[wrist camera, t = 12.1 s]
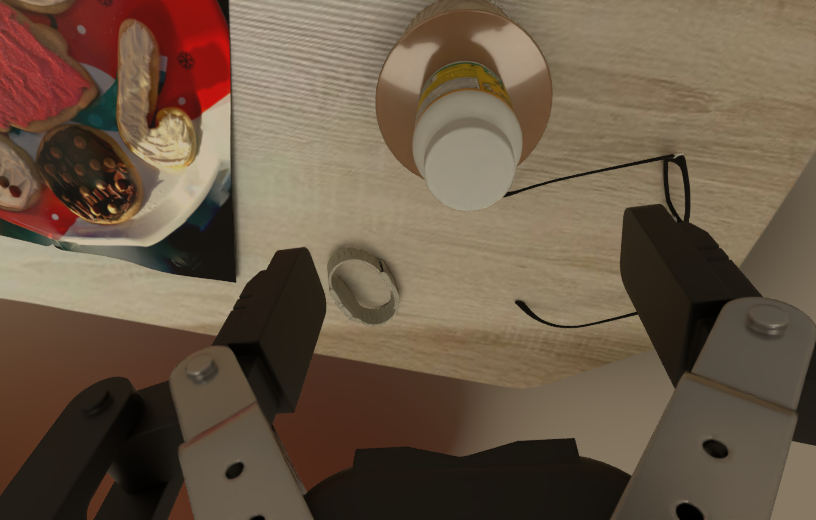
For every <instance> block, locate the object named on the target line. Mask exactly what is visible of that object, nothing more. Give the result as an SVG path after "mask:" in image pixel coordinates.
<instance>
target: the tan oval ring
mask: <svg viewBox="0 0 816 520" xmlns="http://www.w3.org/2000/svg"><path fill="white" fill-rule="evenodd" d="M350 261H358V262H362V263H365V264H367V265H369V266H372V268H374V269H376V271H377V272H378V273H379V275H380V276H381V277H382V279H383V280H384V281H385V283H386V284H387V285H389V287H390V289H391V292H392V293H391V301H390V302H389V303H388V304H387V305H385V306H384V307H382V308H379V309H368V308H364V307H362V306H360V305H359V303H358V302H357V301H356V299H355V297H354V296H353V294H352V292H351V290H350V289H349V288H348V287H347V286H346V285H345V284H344V283H343V281H342V280H341V279H340V278H339V277H336V276H334V275H333V272H334V271H335V269H336V268H337V267H338V266H340V265H341V264H343V263H345V262H350ZM327 269H328V281H329V292H330V294H331V296H332V298H333V300H334V302H335V304H336V305H337V306H338V307H339V308H340V309H341V311H342V312H343V313H344V314H345V315H346V316H347V317H348V318H349V319H350V320H352V321H355V322H357V323H361V322H362V324H365V325H367V326H380V325H383V324H385V323H387V321H388V322H389V321H390V320H391V319H392V318H393V317H394V316H395V314H396V313H397V311H398V309H399V295H398V292H397V288H396V285H395V282H394V279H393V277H392V275H391V273H390V272H389V271H388V269H387V267H386V265H385V263H384V262H383V260H381V259H380V260H377V259H376V258H375V257H374V256H372V255H371V254H370V253H368V252H367V251H364V250H362V249H358V248H343V249H341V250H338V251H337V252H335V253H334V254H333V255H332V256H331V257H330V259H329V261H328V266H327Z"/></svg>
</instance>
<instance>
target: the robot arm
mask: <svg viewBox="0 0 816 520" xmlns="http://www.w3.org/2000/svg"><path fill="white" fill-rule="evenodd" d="M620 271H621V277H622V281H623V284H624V287H625V289H626V291H627V293H628V295H629V297H630V299H631V301H632V303H633V305H634V307H635V309H636V311H637V313H638V315H639V317H640V319H641V321H642V323H643V325H644V327H645V329H646V331H647V333H648V335H649V337H650V340H651V342H652V344H653V346H654V348H655V350H656V351H657V354H658V356H659V358H660V360H661V361H662V364H663V366H664V368H665V370H666V372H667V374H668V376H669V378H670V380H671V382H672V384H673V386H674V388H675V391H674V392H673V395H672V396H671V398H670V401H669V403H668V404H667V407H666V409H665V410H664V412H663V414H662V416H661V419H660V421H659V423H658V425H657V427H656V429H655V431H654V432H653V435H652V436H651V438H650V440H649V442H648V444H647V446H646V449H645V450H644V452H643V455H642V457H641V458H640V460H639V462H638V464H637V466H636V468H635V470H634V472H633V474H632V476H631V475H629V474H628V473H626V472H624V471H622V470H620V469H618V468H616V467H613V466H611V465H609V464H606V463H604V462H601V461H598V460H594V459H591V458H586V457H581V456H579V453H578V449H577V445H576V441H575V438H567V439H548V440H529V441H516V442H513V443H509V444H506V445H502V446H499V447H496V448H493V449H489V450H485V451H482V452H479V453H475V454H472V455H468V456H464V457H457V456H451V455H447V454H442V453H437V452H431V451H426V450H421V449H416V448H411V447H389V448H369V449H356V451H355V457H354V462H353V467H350V468H347V469H345V470H342V471H340V472H338V473H336V474H333V475H332V476H330V477H328V478H326V479H324V480H323V481H321V482H320V483H319V484H317V485H316V486H314V487H313V488H312V489H311V490H309V491H308V492H307V491H306V489H305V487H304V485H303V484H302V482H301V480H300V478H299V476H298V474H297V472H296V470H295V468H294V466H293V464H292V462H291V460H290V458H289V456H288V454H287V452H286V450H285V448H284V446H283V444H282V442H281V440H280V438H279V436H278V434H277V432H276V430H275V428H274V426H273V425H272V424H273V421H274V418H275V415H276V414H279V413H293V412H295V408H296V405H297V402H298V399H299V396H300V393H301V390H302V387H303V383H304V380H305V377H306V374H307V371H308V368H309V364H310V361H311V358H312V355H313V352H314V349H315V346H316V343H317V340H318V336H319V333H320V330H321V327H322V324H323V321H324V318H325V314H326V298H325V293H324V290H323V287H322V285H321V282H320V279H319V276H318V273H317V271H316V268H315V265H314V262H313V260H312V257H311V254H310V252H309V250H308V249H307V248H305V247H301V248H293V249H285V250H278V251H277V252H276V253H275V254H274V256H273V258H272V260H271V262H270V264H269V266H268V268H267V269H266V270H262V271H260V272H259V273H258V274H257V275H256V276H255V277H253V278H252V279H251V280H250V281H249V282H248V283H247V284H246V286H245V288H244V289H243V291H242V293H241V295H240V299H238V300H237V302H236V304H235V305H234V307H233V310H232V311H231V312H230V314H229V316H228V318H227V319H226V321H225V323H224V325H223V326H222V328H221V330H220V332H219V333H218V335H217V337H216V339H215V340H214V342H213V344H212V346H210V347H207V348H203V349H200V350H198V351H196V352H194V353H193V354H191V355H189V356H188V357H186V358H185V359H184V360H183V361H181V362H180V363H179V364H178V365H177V366H176V368H175V369H174V370H173V372H172V374H171V376H170V378H169V380H168V381H166V382H162V383H159V384H156V385H153V386H150V387H147V388H144V389H141V390H138V391H137V390H136V389H135V388H134V386H133V385H132V384H131V382H130V381H129V380H128V379H127V378H124V377H112V378H107V379H104V380H102V381H99V382H97V383H95V384H93V385H91V386H89V387H88V388H86V389H85V390H83V391H82V392H81V393H79V394H78V395H77V396H76V397H75V398H74V399H73V400H72V401H71V402H70V403H69V404H68V405H67V407H66V408H65V409H64V411H63V412H62V413H61V415H60V416H59V417H58V419H57V420H56V421H55V423H54V424H53V425H52V427H51V428H50V429H49V431H48V432H47V433H46V435H45V436H44V438H43V439H42V440H41V442H40V443H39V444H38V446H37V447H36V448H35V450H34V451H33V453H32V454H31V455H30V456H29V458H28V459H27V461H26V462H25V463H24V465H23V466H22V467H21V469H20V470H19V471H18V473H17V474H16V475H15V477H14V478H13V480H12V481H11V482H10V484H9V485H8V486H7V488H6V489H5V490H4V492H3V493H2V494H1V496H0V520H87V509H88V505H89V503H90V501H91V499H92V497H93V495H94V494H95V492H96V490H97V488H98V487H99V485H100V483H101V481H102V480H103V478H104V476H105V474H106V473H109V475H110V476H111V477H112V478H113V479H114V480H115V482H114V484H113V485H112V487H111V489H110V491H109V493H108V495H107V496H106V498H105V500H104V502H103V504H102V505H101V507H100V509H99V511H98V513H97V515H96V516H95V518H94V520H168V517H169V515H170V512H171V510H172V508H173V506H174V503H175V501H176V498H177V496H178V494H179V491H180V489H181V487H182V484H183V482H184V480H185V484H186V488H187V492H188V495H189V500H190V503H191V507H192V511H193V515H194V519H195V520H770V518H771V514H772V511H773V507H774V504H775V500H776V496H777V493H778V489H779V485H780V482H781V478H782V474H783V471H784V467H785V463H786V459H787V456H788V452H789V448H790V445H791V441H795V442H800V443H805V444H810V445H815V446H816V325H815V323H814V322H813V320H812V319H811V318H810V317H809V316H808V315H807V314H805V313H804V312H803V311H801V310H800V309H798V308H796V307H794V306H792V305H789V304H787V303H785V302H782V301H779V300H775V299H770V298H764V297H763V296H762V295H761V294H760V293H759V292H758V291H757V289H755V287H754V286H753V285H752V284H751V282H750V281H749V280H748V279H747V278H746V277H745V276H744V274H743V273H742V272H741V271H740V270H739V268H738V267H737V266H736V265H735V264H734V263H733V261H732V260H729V257H728V256H727V254H726V253H725V252H724V251H723V250H722V249H721V248H720V249H719V245H718V244H717V243H716V242H715V240H714V239H713V238H712V237H711V236H710V235H709V233H708V232H706V231H704V230H702V229H701V228H699V227H697V226H695V225H693V224H691V223H689V222H688V221H687V222H679V223H676V221H675V220H674V219H673V218H672V216H671V215H670V214H669V212H668V211H667V210H666V209H665V207H664V206H663V205H662V204H654V205H646V206H638V207H630V208H626V209H625V212H624V216H623V228H622V241H621V254H620Z"/></svg>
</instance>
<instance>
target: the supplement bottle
mask: <svg viewBox="0 0 816 520" xmlns="http://www.w3.org/2000/svg"><path fill="white" fill-rule="evenodd" d="M522 143H523V141H522V131H521V128H520V124H519V121H518V119H517V116H516V114H515V111H514V109H513V106H512V103H511V101H510V98H509V96H508V93H507V90H506V88H505V86H504V84H503V82H502V81H501V79H500V78H499V77H498V76H497V75H496V74H495V73H494V72H493V71H491V70H490V69H489V68H487V67H486V66H484V65H482V64H480V63H477V62H473V61H458V62H453V63H450V64H448V65H445V66H443V67H442V68H440V69H439V70H437V71H436V72H435V73H434V74H433V75H432V76H431V77H430V78H429V79H428V80H427V82H426V83H425V85H424V87H423V89H422V91H421V94H420V98H419V102H418V107H417V114H416V120H415V127H414V133H413V142H412V149H413V156H414V161H415V164H416V166H417V168H418V170H419V172H420V174H421V175H422V177H423V178H424V179H425V181H426V184H427V186H428V189H429V190H430V192H431V194H432V195H433V196H434V197H435V198H436V199H437V200H438V201H439V202H440V203H442V204H444V205H445V206H447V207H449V208H452V209H455V210H459V211H477V210H481V209H484V208H487V207H489V206H491V205H493V204H495V203H496V202H497V201H499V200H500V199H501V198H502V197H503V196H504V195H505V194H506V193H507V192H508V190H509V188H510V186H511V184H512V182H513V179H514V175H515V169H516V167H517V165H518V163H519V160H520V157H521V152H522Z"/></svg>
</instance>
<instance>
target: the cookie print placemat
mask: <svg viewBox="0 0 816 520" xmlns="http://www.w3.org/2000/svg"><path fill="white" fill-rule="evenodd" d="M0 235H2V236H6V237H11V238H15V239H19V240H23V241H28V242H32V243H36V244H40V245H44V246H49V245H52V244H53V245H54V246H55V247H56V248H58V249H61V250H65V251H72V252H80V253H88V254H95V255H102V256H107V257H112V258H117V259H121V260H125V261H128V262H132V263H135V264H138V265H141V266H144V267H147V268H150V269H154V270H158V271H161V272H166V273H171V274H176V275H183V276H190V277H198V278H206V279H214V280H221V281H228V282H235V283H236V273H235V258H234V234H233V211H232V192H231V169H230V47H229V15H228V0H0Z"/></svg>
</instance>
